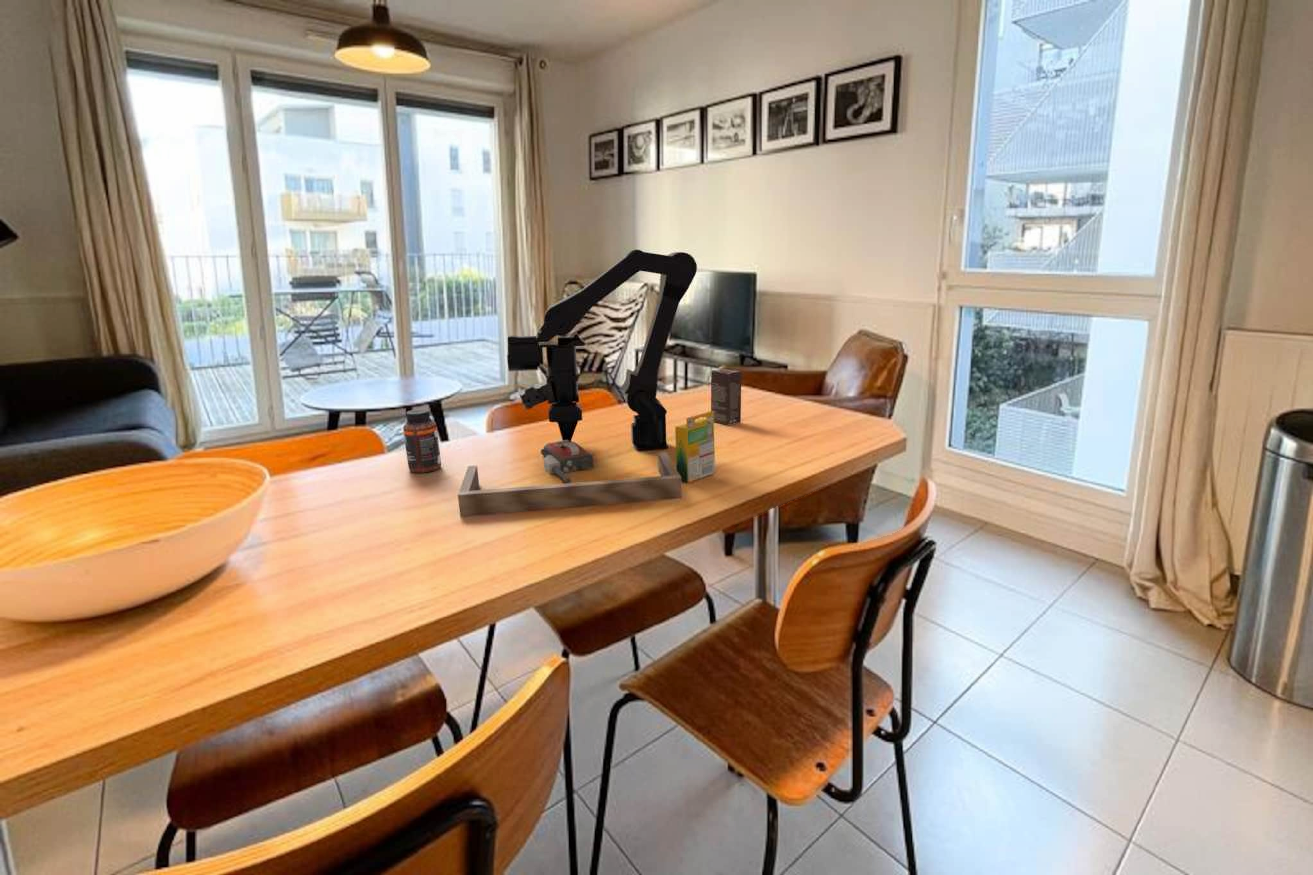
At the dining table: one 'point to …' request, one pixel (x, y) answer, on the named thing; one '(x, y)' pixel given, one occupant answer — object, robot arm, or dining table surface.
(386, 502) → the dining table surface
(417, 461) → the supplement bottle
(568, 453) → the walkie-talkie
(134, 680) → the dining table surface
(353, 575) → the dining table surface
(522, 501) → the brown shallow tray
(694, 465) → the crayon box
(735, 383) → the box
